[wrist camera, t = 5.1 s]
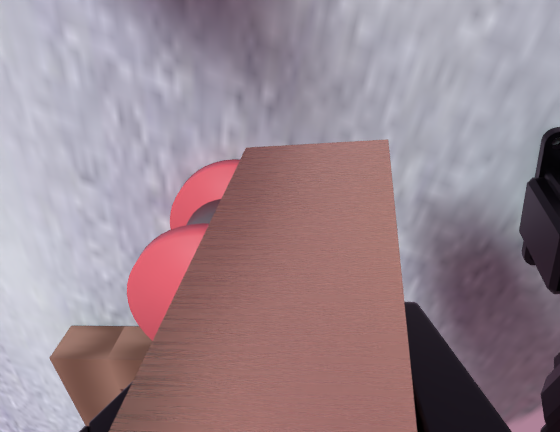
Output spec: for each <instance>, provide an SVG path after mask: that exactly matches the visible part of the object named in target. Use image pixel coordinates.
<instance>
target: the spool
mask: <svg viewBox="0 0 560 432" xmlns="http://www.w3.org/2000/svg"><path fill="white" fill-rule="evenodd" d="M239 161H240V160H224V161H220V162H216V163H213V164H210V165H208V166H205V167H203V168H202V169H200V170H198V171H197V172H196V173H194V174H193V175H192V176H191V177H190V178H189V179H188V180H187V181H186V182H185V184H184V185H183V187H182V188H181V190H180V191H179V193H178V195H177V196H176V198H175V201H174V203H173V205H172V209H171V215H170V228H171V230H169V231H167V232H165V233H163V234H161V235H160V236H158V237H157V238H155V239H154V240H153V241H152V242H151V243H150V244H149V245H148V246H147V247H146V248H145V249H144V251H143V252H142V254H141V255H140V257H139V259H138V260H137V262H136V263H135V265H134V267H133V268H132V271H131V273H130V275H129V279H128V284H127V297H128V303H129V306H130V310H131V312H132V314H133V316H134V319H135V320H136V322H137V323H138V325H139V327H140V328H141V329H142V330H143V332H144V333H145V334H146V335H147V336H148V337H149V338H150V339H151V340H152V341H153V339H154V337H155V335H156V333H157V331H158V329H159V327H160V325H161V322H162V320H163V318H164V316H165V314H166V312H167V310H168V308H169V306H170V304H171V302H172V300H173V298H174V296H175V294H176V291H177V289H178V287H179V285H180V283H181V281H182V279H183V277H184V275H185V273H186V271H187V269H188V267H189V265H190V263H191V260H192V258H193V256H194V254H195V252H196V250H197V248H198V246H199V244H200V242H201V240H202V238H203V236H204V234H205V232H206V229H207V227H208V225H209V223H210V221H211V219H212V217H213V215H214V213H215V211H216V209H217V207H218V205H219V203H220V201H221V199H222V196H223V194H224V192H225V190H226V188H227V186H228V184H229V182H230V180H231V178H232V176H233V174H234V172H235V170H236V168H237V165H238V163H239Z"/></svg>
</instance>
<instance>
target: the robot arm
mask: <svg viewBox="0 0 560 432" xmlns="http://www.w3.org/2000/svg"><path fill="white" fill-rule="evenodd" d="M559 137H560V127H557V128H552V129H550V130H548V131H547V132H546V133H545V134H544V135H543V137H542V140H541V145H540V151H539V157H538V162H537V168H536V174H535V178H532V179H531V180H530V181H529V182H528V183H527V187H526V193H525V199H524V205H523V211H522V217H521V223H520V228H519V231H520V234H521V236H522V238H523V240H524V242H523V247H522V255H523V258H524V260H525V261H526V263H528V264H530V265H536V266H537V269H538V271H539V273H540V275H541V277H542V279H543V281H544V283H545V285H546V287H547V289H549V290H550V291H551V292H552V293H553V294H560V143H559V144H557V145H551V143H552V141H553V140H554V139H556V138H559ZM404 304H405V314H406V324H407V334H408V344H409V354H410V365H411V375H412V385H413V395H414V405H415V415H416V425H417V432H511V430H510V429H509V427H508V426H507V425H506V423H505V422H504V421H503V419H502V418H501V417H500V415H499V414H498V412H497V411H496V410H495V408H494V407H493V406H492V404H491V403H490V402H489V400H488V399H487V397H486V396H485V395H484V393H483V392H482V391H481V389H480V388H479V387H478V385H477V384H476V382H475V381H474V380H473V378H472V377H471V376H470V374H469V373H468V372H467V370H466V369H465V367H464V366H463V365H462V363H461V362H460V361H459V359H458V358H457V357H456V355H455V354H454V352H453V351H452V350H451V348H450V347H449V346H448V344H447V343H446V342H445V340H444V339H443V337H442V336H441V335H440V333H439V332H438V331H437V329H436V328H435V327H434V325H433V324H432V323H431V321H430V320H429V318H428V317H427V316H426V314H425V313H424V312H423V310H422V309H421V308H420V306H419V305H418V304H417V303H416V302H404ZM132 382H133V381H132ZM132 382H131V383H130V384H129V385H128V386H127V387H126V388H125V389H124V390H123V391H122V392H121V393H120V394H119V395H118V396H117V397H115V398H114V399H113V400H112V401H111V402H110V403H109V404H108V405H107V406H106V407H105V408H104V409H103V410H102V411H101V412H100V413H99V414H98V415H96V416H95V417H94V418H93V419H92V420H91V421H90V422H89V426H85V427H84V428H83V429H81V430H80V431H79V432H109V430H110V428H111V426H112V424H113V422H114V420H115V417H116V415H117V413H118V411H119V409H120V407H121V405H122V403H123V401H124V399H125V397H126V395H127V393H128V391H129V389H130V386H131V384H132ZM541 399H542V406H543V413H544V419H545V422H546V424H545V425H544V426H543V427H542V429H541V432H560V353H559V354H558V355H557V356H556V357H555V358H554V370H553V371H552V372H551V373H550V374H549V375H548V376H547V378H546V381H545V384H544V387H543V389H542V392H541Z"/></svg>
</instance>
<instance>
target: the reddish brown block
mask: <svg viewBox="0 0 560 432" xmlns="http://www.w3.org/2000/svg"><path fill="white" fill-rule="evenodd" d="M109 432H417V425H416V415H415V405H414V395H413V385H412V375H411V365H410V354H409V344H408V334H407V324H406V314H405V304H404V294H403V284H402V274H401V264H400V254H399V244H398V234H397V224H396V213H395V203H394V193H393V183H392V173H391V163H390V153H389V143H388V140H372V141H355V142H337V143H320V144H303V145H285V146H268V147H250V148H246V149H245V151H244V153H243V155H242V157H241V159H240V161H239V163H238V165H237V168H236V170H235V172H234V174H233V176H232V178H231V180H230V182H229V184H228V186H227V188H226V190H225V192H224V194H223V196H222V199H221V201H220V203H219V205H218V207H217V209H216V211H215V213H214V215H213V217H212V219H211V221H210V223H209V225H208V227H207V229H206V232H205V234H204V236H203V238H202V240H201V242H200V244H199V246H198V248H197V250H196V252H195V254H194V256H193V258H192V260H191V263H190V265H189V267H188V269H187V271H186V273H185V275H184V277H183V279H182V281H181V283H180V285H179V287H178V289H177V291H176V294H175V296H174V298H173V300H172V302H171V304H170V306H169V308H168V310H167V312H166V314H165V316H164V318H163V320H162V322H161V325H160V327H159V329H158V331H157V333H156V335H155V337H154V339H153V341H152V343H151V345H150V347H149V349H148V351H147V353H146V355H145V358H144V360H143V362H142V364H141V366H140V368H139V370H138V372H137V374H136V376H135V378H134V380H133V382H132V384H131V386H130V389H129V391H128V393H127V395H126V397H125V399H124V401H123V403H122V405H121V407H120V409H119V411H118V413H117V415H116V417H115V420H114V422H113V424H112V426H111V428H110V430H109Z"/></svg>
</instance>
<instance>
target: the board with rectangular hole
mask: <svg viewBox="0 0 560 432" xmlns="http://www.w3.org/2000/svg"><path fill="white" fill-rule="evenodd" d="M151 343H152V340H151V339H150V338H149V337H148V336H147V335H146V334H145V333H144V332H143V330H142V329H141V328H140V327H135V326H71V327H70V328H69V330H68V331H67V333H66V334H65V336H64V337H63V339H62V340H61V342H60V343H59V345H58V346H57V348H56V349H55V351H54V352H53V354H52V355H51V357H50V360H51V362H52V364H53V366H54V367H55V369H56V371H57V373H58V375H59V377H60V379H61V380H62V382H63V384H64V386H65V388H66V390H67V392H68V394H69V395H70V397H71V399H72V401H73V403H74V405H75V407H76V408H77V410H78V412H79V414H80V416H81V418H82V420H83V421H84V423H85V425H86V426H89V422H90V421H91V420H92V419H93V418H94V417H95V416H96V415H98V414H99V413H100V412H101V411H102V410H103V409H104V408H105V407H106V406H107V405H108V404H109V403H110V402H111V401H112V400H113V399H114V398H115V397H117V396H118V395H119V394H120V393H121V392H122V391H123V390H124V389H125V388H126V387H127V386H128V385H129V384H130V383H131V382H132V381H133V380H134V378H135V376H136V374H137V372H138V370H139V368H140V366H141V364H142V362H143V360H144V358H145V355H146V353H147V351H148V349H149V347H150V345H151Z"/></svg>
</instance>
